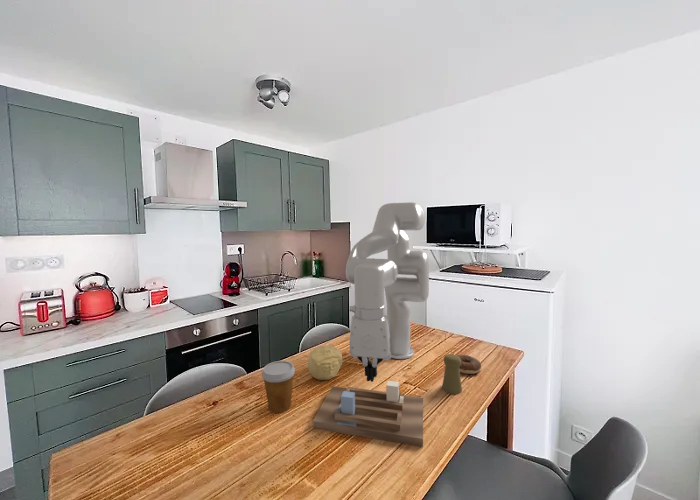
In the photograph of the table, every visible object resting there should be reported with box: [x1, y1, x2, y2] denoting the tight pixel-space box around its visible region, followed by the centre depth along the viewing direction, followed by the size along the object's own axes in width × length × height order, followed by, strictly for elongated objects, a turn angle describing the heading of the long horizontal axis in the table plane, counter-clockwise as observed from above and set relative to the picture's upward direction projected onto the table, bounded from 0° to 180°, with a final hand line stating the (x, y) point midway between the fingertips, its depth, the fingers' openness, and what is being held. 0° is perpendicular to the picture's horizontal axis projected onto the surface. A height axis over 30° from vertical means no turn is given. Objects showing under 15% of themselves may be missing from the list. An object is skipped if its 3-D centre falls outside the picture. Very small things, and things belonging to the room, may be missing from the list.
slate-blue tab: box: [341, 391, 355, 415], centre depth 78 cm, size 3×3×6 cm
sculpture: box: [307, 344, 343, 381], centre depth 103 cm, size 11×12×11 cm
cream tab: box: [386, 380, 400, 402], centre depth 83 cm, size 3×3×6 cm
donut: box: [456, 354, 482, 375], centre depth 107 cm, size 11×11×4 cm
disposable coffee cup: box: [261, 360, 296, 414], centre depth 85 cm, size 10×10×12 cm
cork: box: [441, 353, 463, 395], centre depth 94 cm, size 6×6×11 cm
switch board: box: [312, 385, 424, 448], centre depth 81 cm, size 17×28×3 cm, turn 76°
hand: (370, 378), depth 77 cm, fingers closed
